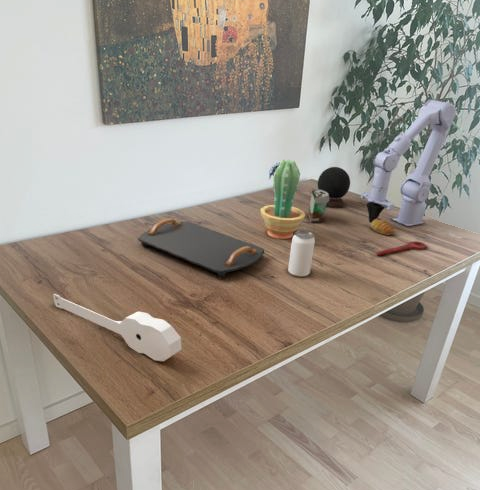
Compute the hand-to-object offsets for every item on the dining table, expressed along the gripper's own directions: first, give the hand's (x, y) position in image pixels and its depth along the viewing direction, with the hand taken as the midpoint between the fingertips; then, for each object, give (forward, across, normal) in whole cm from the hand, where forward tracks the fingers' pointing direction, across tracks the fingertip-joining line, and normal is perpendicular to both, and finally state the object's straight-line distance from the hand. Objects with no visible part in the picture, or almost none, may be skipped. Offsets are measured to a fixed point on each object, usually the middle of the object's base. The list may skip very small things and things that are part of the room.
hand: (372, 222), depth 181 cm
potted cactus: (+2, -6, -38) cm, 39 cm away
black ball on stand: (+2, -27, +3) cm, 27 cm away
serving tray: (+2, -3, -71) cm, 71 cm away
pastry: (+2, +5, 0) cm, 6 cm away
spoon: (+1, +21, -8) cm, 23 cm away
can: (+2, +20, -51) cm, 55 cm away
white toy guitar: (+2, +28, -109) cm, 113 cm away
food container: (+2, -14, -15) cm, 20 cm away
